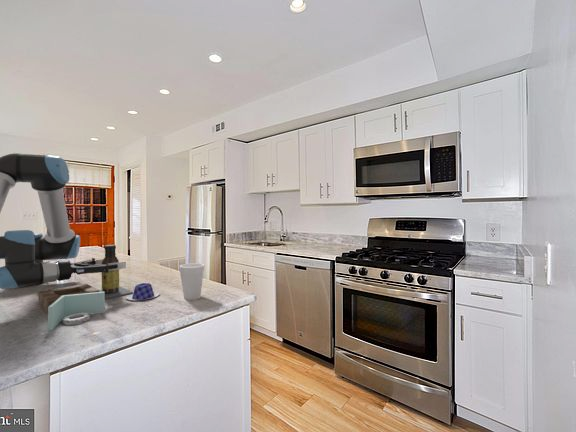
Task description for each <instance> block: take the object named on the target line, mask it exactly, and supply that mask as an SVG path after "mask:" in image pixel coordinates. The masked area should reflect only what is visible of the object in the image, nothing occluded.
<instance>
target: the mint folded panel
mask: <svg viewBox="0 0 576 432" xmlns="http://www.w3.org/2000/svg"><path fill="white" fill-rule="evenodd" d="M105 300H106V299H105V292H95V293H84V294H73V295H63V296H61V297H60V298H59V299H57V300H56V301H55V302H54V303H53V304H51V305H50V306H49V307H48V314H47V318H48V319H47V321H48V323H47V324H48V327H47V329H48V331H53V330H54V329H55V328H56V327H57V325H59V324H60V323H61V321H62V324H63V325H65V326H73V325H79V324H82V323H84V322H87V321H89V319H90V315H93V314H102V313H105V311H106V306H105V304H106V303H105Z"/></svg>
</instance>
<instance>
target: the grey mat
mask: <svg viewBox="0 0 576 432" xmlns="http://www.w3.org/2000/svg"><path fill="white" fill-rule="evenodd" d="M98 290H99V292H102V289H98ZM133 293H134V291H132V290H129V289H127V288H125V287H123V286H121V285H119V291H118V292H115V293H110V294H105V300H109V299H113V298H118V297H122V296H127V295H128V296H129V295H131V294H133Z"/></svg>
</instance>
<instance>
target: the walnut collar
mask: <svg viewBox="0 0 576 432" xmlns="http://www.w3.org/2000/svg"><path fill="white" fill-rule="evenodd" d="M99 290H100V289H97V288H95V287H93V286H92V285H90V284H88V283H81V284H77V285H71V286H64V287H60V288H59V287H58V288H53V289H47V290H41V291H38V292H37V293H38V295H37V296H38V297H37V298H38V306H39V307H40V308H41V309H42V310H43V311H44V312H45V313H46V314H47V315H48V307H49V306H50V305H51V304H53V303H54V302H55V301H56V300H57V299H59V298H60V297H61V296H63V295H73V294H84V293H95V292H99Z"/></svg>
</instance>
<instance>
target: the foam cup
mask: <svg viewBox="0 0 576 432" xmlns="http://www.w3.org/2000/svg"><path fill="white" fill-rule="evenodd" d="M179 273H180V280H181V287H182V294H183V298H184V300H188V301H193V299H194V300H198V299H200V298H201V295H202V286H203V278H204V273H205V264H204V263H200V262H199V263H197V262H193V263H184V264H180V265H179Z"/></svg>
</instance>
